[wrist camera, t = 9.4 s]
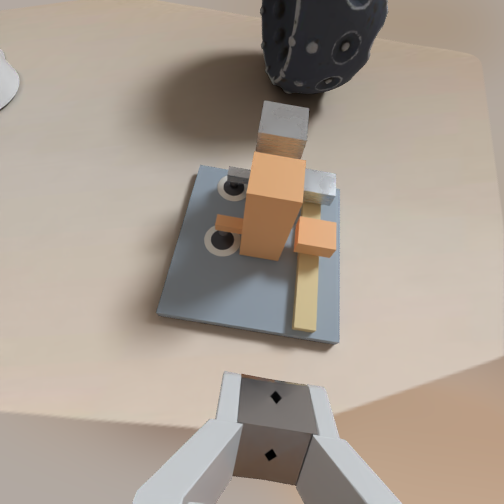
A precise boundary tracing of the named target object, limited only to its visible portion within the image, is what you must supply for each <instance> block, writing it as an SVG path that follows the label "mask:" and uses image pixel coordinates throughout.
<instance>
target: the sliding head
mask: <svg viewBox="0 0 504 504" xmlns="http://www.w3.org/2000/svg"><path fill="white" fill-rule="evenodd" d="M305 167H306V160H300V159H294V158H289V157H283V156H277V155H272V154H266V153H260V152H255V151H254V156H253V161H252V167H251V172H250V177H249V182H248V188H247V193H246V202H245V210H244V219H243V218H237V217H231V216H226V215H220V214H217V218H216V223H215V230H219V234H220V235H221V236H226V235H227V234H228V232H231V233H237V234H242V236H241V244H240V253H239V255H245V256H251V257H257V258H263V259H269V260H275V261H278V260H279V258H280V255H281V253H282V251H283V248H284V246H285V244H286V241H287V239H288V237H289V234H290V232H291V229H292V227H293V225H294V222H295V220H296V218H297V215H298V213H299V211H300V208H301V206H302V204H303V194H304V181H305ZM336 227H337V223H336V222H331V221H325V220H319V219H313V218H307V217H302V216H300V217H299V220H298V222H297V224H296V229H295V240H294V252H297V253H303V254H309V255H315V256H321V257H327V258H330V257H331V256H332V255H333V253H334V252H335V251H336Z"/></svg>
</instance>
